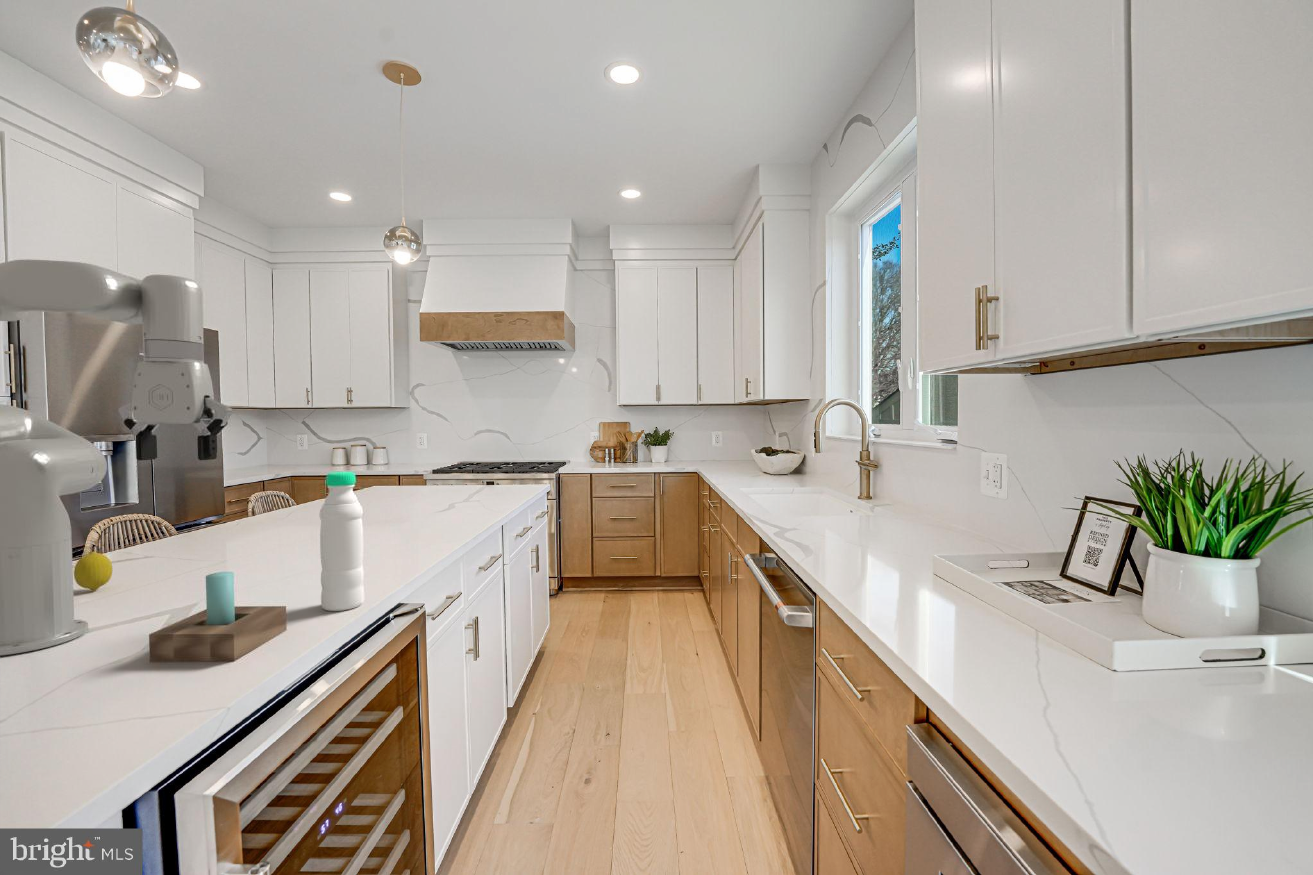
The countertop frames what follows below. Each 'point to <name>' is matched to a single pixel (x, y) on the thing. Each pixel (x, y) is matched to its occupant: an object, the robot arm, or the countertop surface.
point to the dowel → (220, 598)
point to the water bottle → (341, 545)
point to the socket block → (217, 635)
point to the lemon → (93, 571)
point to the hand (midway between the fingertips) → (177, 459)
